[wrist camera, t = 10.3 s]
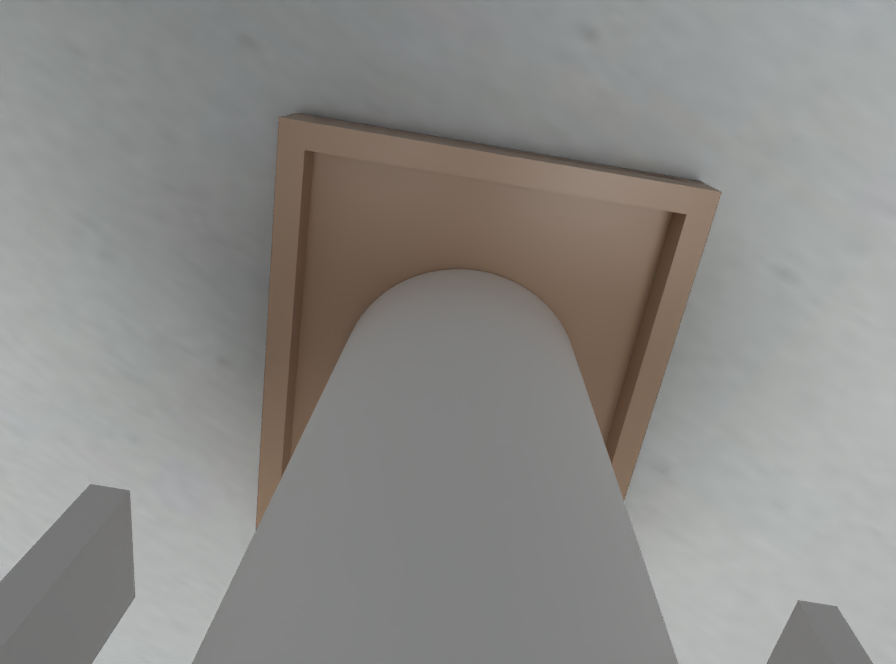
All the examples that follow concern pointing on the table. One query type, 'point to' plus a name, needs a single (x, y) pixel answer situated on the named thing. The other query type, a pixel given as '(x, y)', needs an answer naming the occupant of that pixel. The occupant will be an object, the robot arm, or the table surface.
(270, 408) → the tray
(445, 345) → the cup
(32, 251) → the table surface
